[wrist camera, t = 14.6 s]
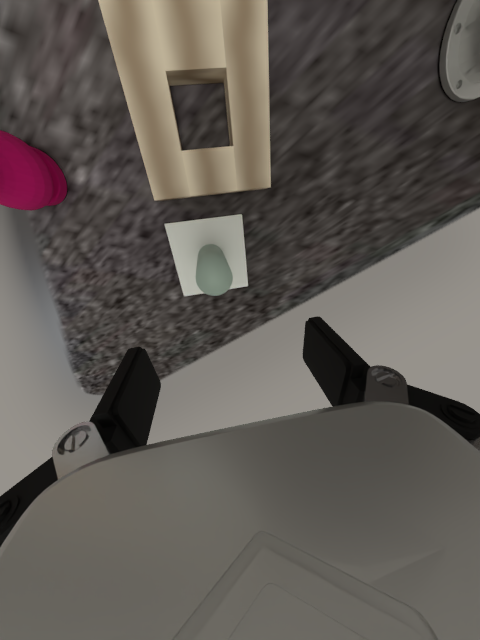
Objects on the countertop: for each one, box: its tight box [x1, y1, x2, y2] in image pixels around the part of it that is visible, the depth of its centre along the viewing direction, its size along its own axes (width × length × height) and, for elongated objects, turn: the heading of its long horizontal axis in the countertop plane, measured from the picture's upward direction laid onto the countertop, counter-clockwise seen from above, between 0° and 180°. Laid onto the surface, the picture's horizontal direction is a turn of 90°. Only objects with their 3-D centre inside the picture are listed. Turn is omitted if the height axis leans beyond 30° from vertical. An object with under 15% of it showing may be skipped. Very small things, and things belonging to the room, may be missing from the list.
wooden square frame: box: [98, 0, 271, 201], centre depth 24 cm, size 16×16×3 cm
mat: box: [164, 214, 248, 296], centre depth 33 cm, size 12×12×1 cm
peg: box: [196, 244, 233, 296], centre depth 28 cm, size 4×4×11 cm
